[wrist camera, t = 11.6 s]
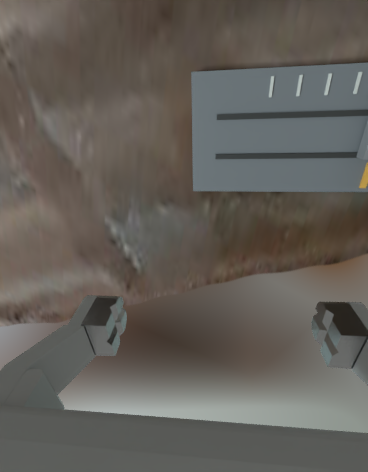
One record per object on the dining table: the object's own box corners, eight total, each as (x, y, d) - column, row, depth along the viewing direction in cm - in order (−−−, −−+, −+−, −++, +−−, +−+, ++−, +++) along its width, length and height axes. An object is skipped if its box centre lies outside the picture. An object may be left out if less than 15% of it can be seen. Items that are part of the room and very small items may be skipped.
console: (192, 73, 29) (191, 71, 27) (474, 59, 25) (496, 55, 23) (194, 186, 35) (193, 191, 33) (416, 187, 32) (429, 193, 30)
